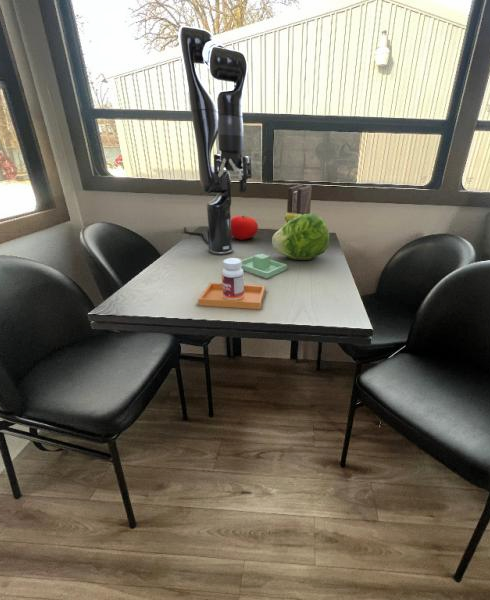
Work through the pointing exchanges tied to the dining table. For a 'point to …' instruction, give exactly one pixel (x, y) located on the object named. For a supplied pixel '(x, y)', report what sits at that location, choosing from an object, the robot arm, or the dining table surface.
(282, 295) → the dining table surface
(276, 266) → the sage tray
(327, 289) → the dining table surface
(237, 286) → the pill bottle
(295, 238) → the lettuce
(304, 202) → the book
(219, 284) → the amber tray
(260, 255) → the sage block
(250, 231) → the tomato
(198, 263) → the dining table surface
